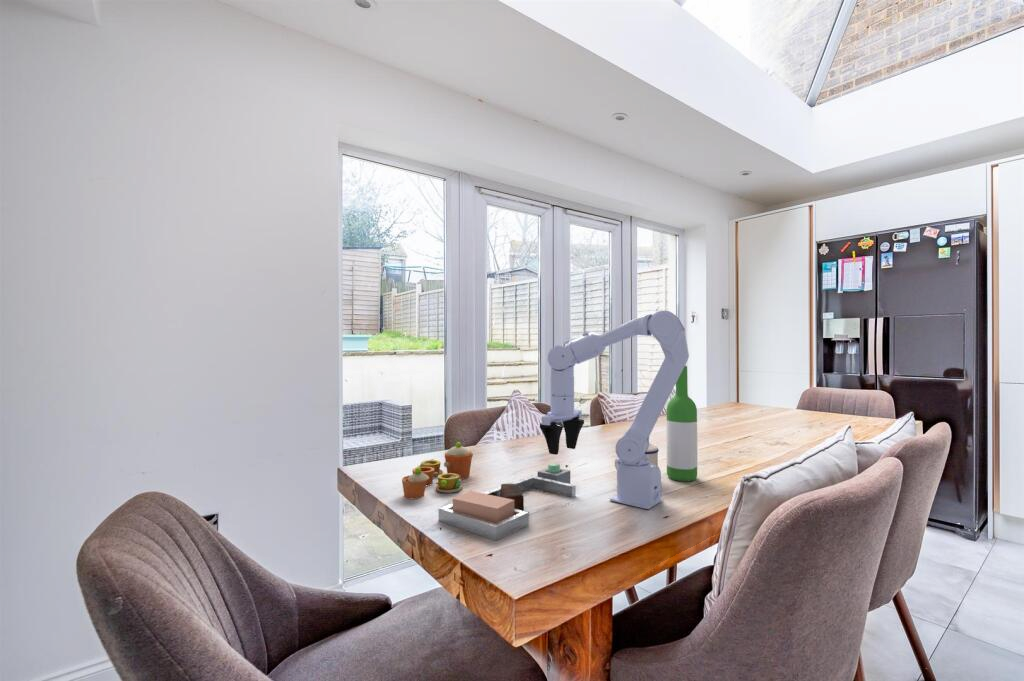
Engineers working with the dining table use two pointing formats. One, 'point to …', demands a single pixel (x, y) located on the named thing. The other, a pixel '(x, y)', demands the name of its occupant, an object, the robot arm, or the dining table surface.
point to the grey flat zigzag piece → (509, 524)
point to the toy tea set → (439, 473)
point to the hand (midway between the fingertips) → (562, 451)
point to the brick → (513, 495)
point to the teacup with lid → (649, 455)
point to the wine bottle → (682, 433)
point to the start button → (554, 468)
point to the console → (556, 475)
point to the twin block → (484, 506)
